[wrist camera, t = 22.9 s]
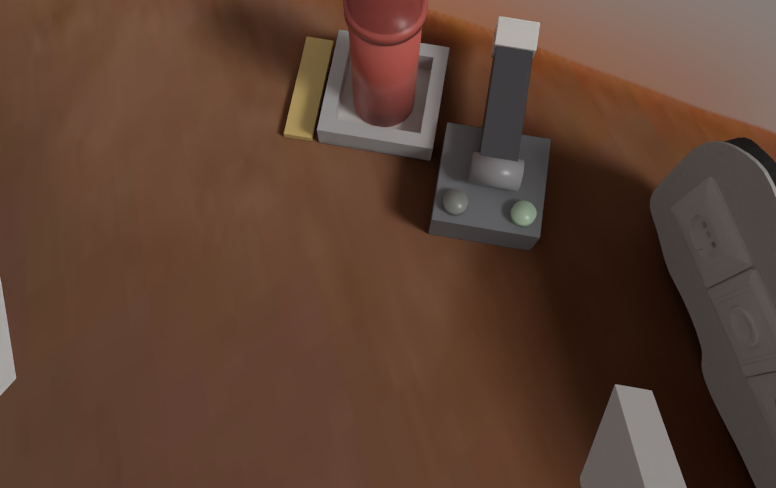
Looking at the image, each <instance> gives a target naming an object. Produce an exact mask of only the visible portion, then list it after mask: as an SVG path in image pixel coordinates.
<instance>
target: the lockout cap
mask: <svg viewBox="0 0 776 488" xmlns="http://www.w3.org/2000/svg"><path fill="white" fill-rule="evenodd" d="M343 7H344V16H345V20H346V23H347V25H348V29H349V44H350V59H351V75H352V90H353V103H354V108H355V110H356V112H357V114H358V115H359V116H360V118H361V119H363V120H364V121H365V122H367V123H368V124H371V125H373V126H379V127H391V126H395V125H397V124H400V123H401V122H403V121H404V120H405V119H406V118H407V117H408V116H409V115H410V114H411V112H412V110H413V107H414V101H415V91H416V81H417V72H418V62H419V52H420V42H421V33H422V27H423V26H424V23H425V21H426V17H427V9H428V0H343Z"/></svg>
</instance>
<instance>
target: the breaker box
mask: <svg viewBox="0 0 776 488" xmlns="http://www.w3.org/2000/svg"><path fill="white" fill-rule="evenodd" d="M481 133H482V128H479V127H473V126H467V125H461V124H455V123H449V122H447V126H446V131H445V135H444V140H443V145H442V151H441V157H440V164H439V170H438V176H437V182H436V188H435V195H434V201H433V207H432V213H431V219H430V226H429V232H428V234H432V235H438V236H444V237H450V238H456V239H462V240H468V241H474V242H480V243H486V244H492V245H497V246H503V247H509V248H515V249H521V250H527V251H530V250H531V249H532V247H533V246H534V245H535V244H536V242H537V241H538V240H539V238H540V233H541V224H542V216H543V207H544V198H545V189H546V180H547V171H548V162H549V153H550V144H551V139H546V138H540V137H534V136H528V135H522V137H521V144H520V151H519V158H518V159H520V160H524V172H523V178H522V182H521V186H520V188H519V190H518V191H514V190H508V189H502V188H496V187H490V186H484V185H478V184H472V183H468V176H469V169H470V164H471V159H472V155H473V152H479V146H480V139H481Z"/></svg>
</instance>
